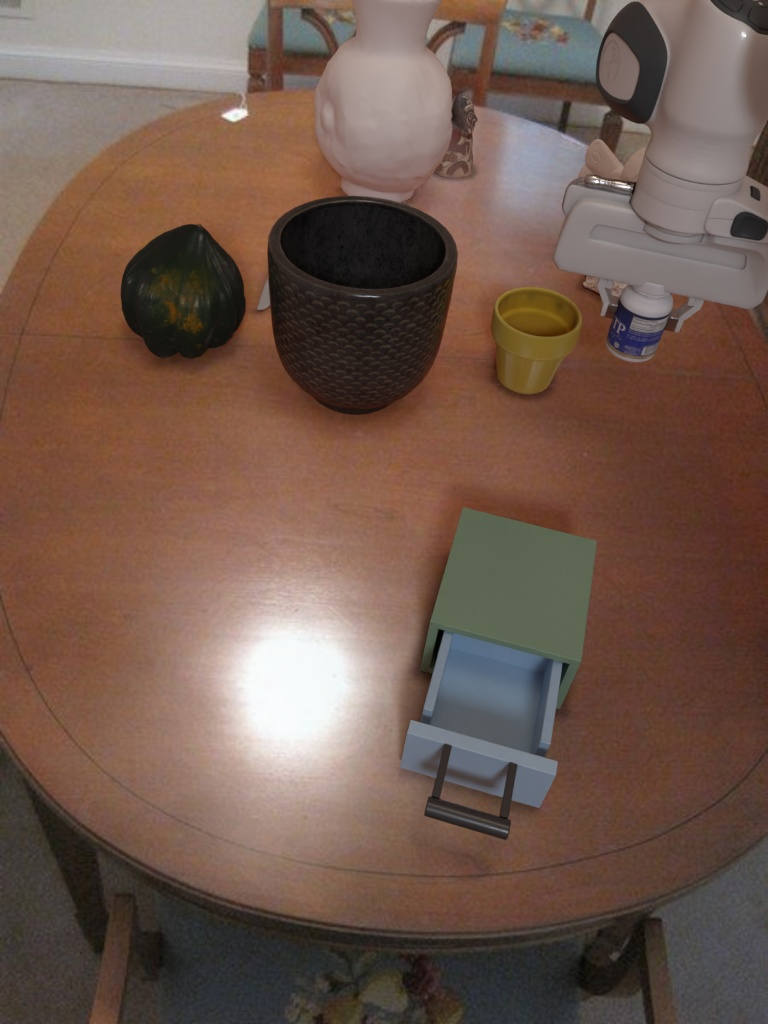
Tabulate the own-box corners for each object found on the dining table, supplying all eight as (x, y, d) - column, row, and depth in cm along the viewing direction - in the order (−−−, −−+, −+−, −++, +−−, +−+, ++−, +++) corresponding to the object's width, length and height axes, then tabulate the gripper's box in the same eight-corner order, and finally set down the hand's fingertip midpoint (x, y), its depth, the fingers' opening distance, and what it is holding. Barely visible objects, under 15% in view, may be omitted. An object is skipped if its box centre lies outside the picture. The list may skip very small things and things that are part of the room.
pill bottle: (601, 331, 92) (624, 257, 85) (649, 335, 92) (677, 261, 86) (608, 362, 88) (633, 286, 82) (659, 366, 88) (688, 291, 82)
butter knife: (307, 218, 127) (287, 215, 127) (272, 310, 111) (249, 306, 111) (307, 220, 127) (287, 218, 127) (272, 312, 111) (249, 309, 111)
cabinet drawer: (528, 879, 64) (547, 846, 59) (380, 835, 65) (387, 799, 61) (559, 677, 76) (576, 637, 72) (434, 643, 77) (443, 601, 73)
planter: (307, 460, 93) (310, 311, 79) (246, 355, 105) (240, 208, 91) (465, 419, 100) (494, 275, 86) (392, 324, 112) (407, 183, 98)
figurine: (462, 182, 140) (474, 107, 131) (422, 170, 141) (431, 95, 132) (478, 165, 144) (490, 91, 135) (439, 154, 146) (448, 80, 137)
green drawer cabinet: (559, 709, 75) (581, 661, 69) (419, 670, 76) (430, 621, 71) (577, 591, 84) (597, 540, 79) (451, 558, 86) (462, 506, 80)
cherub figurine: (593, 310, 118) (636, 168, 103) (552, 261, 125) (587, 123, 111) (675, 299, 121) (728, 160, 106) (630, 252, 129) (674, 117, 114)
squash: (83, 330, 97) (164, 244, 89) (112, 262, 107) (186, 181, 100) (186, 402, 104) (268, 328, 97) (203, 332, 115) (279, 261, 107)
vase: (358, 237, 125) (373, 10, 103) (293, 171, 137) (294, -45, 115) (464, 213, 133) (499, -3, 111) (393, 153, 145) (413, -54, 123)
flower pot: (464, 379, 105) (477, 311, 98) (508, 341, 111) (523, 275, 104) (537, 417, 101) (556, 349, 94) (578, 376, 107) (599, 310, 100)
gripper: (566, 185, 77) (534, 316, 87) (801, 231, 74) (740, 361, 84) (574, 155, 81) (542, 284, 91) (796, 198, 78) (739, 326, 89)
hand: (639, 321), depth 88 cm, fingers closed on pill bottle, 5 cm apart
